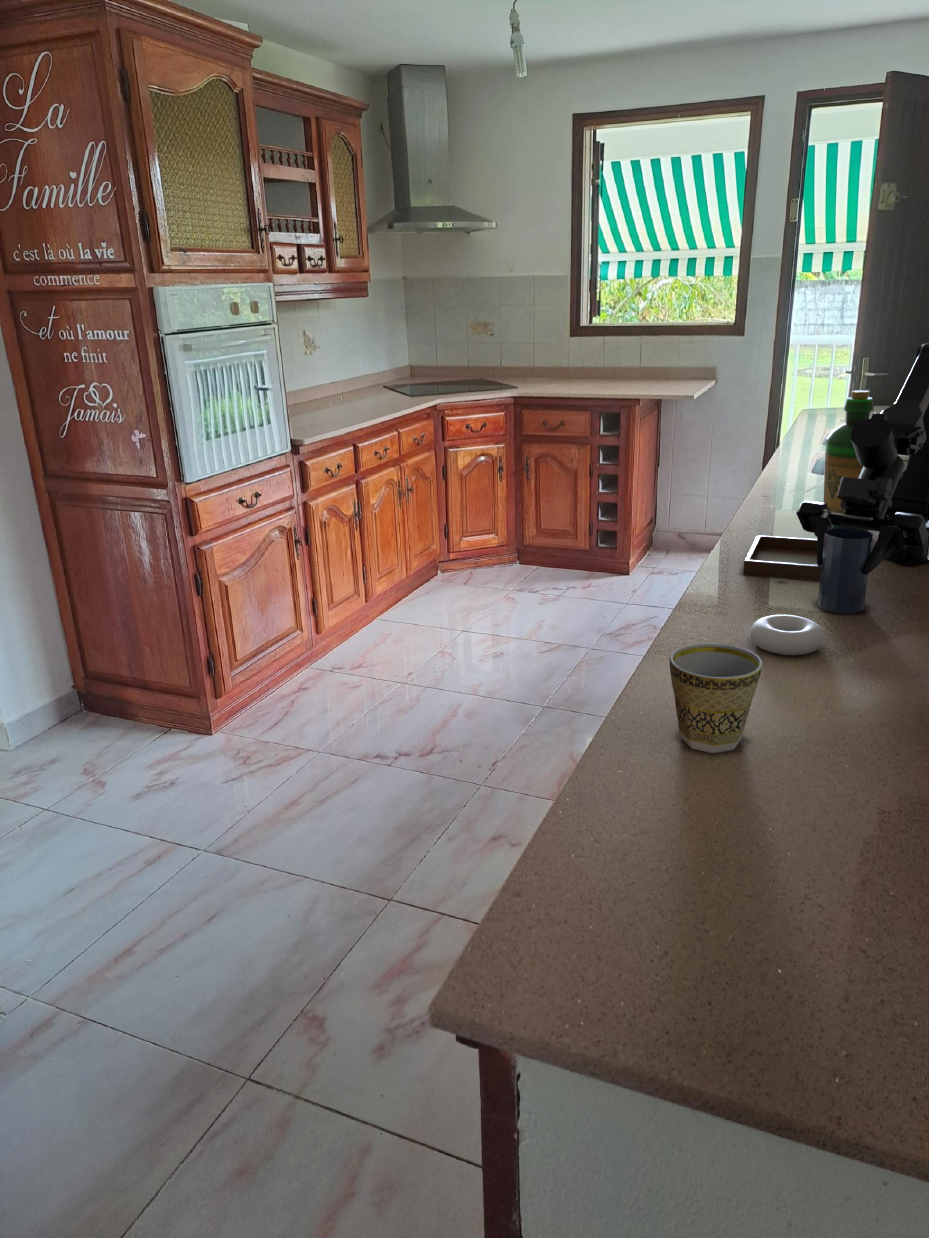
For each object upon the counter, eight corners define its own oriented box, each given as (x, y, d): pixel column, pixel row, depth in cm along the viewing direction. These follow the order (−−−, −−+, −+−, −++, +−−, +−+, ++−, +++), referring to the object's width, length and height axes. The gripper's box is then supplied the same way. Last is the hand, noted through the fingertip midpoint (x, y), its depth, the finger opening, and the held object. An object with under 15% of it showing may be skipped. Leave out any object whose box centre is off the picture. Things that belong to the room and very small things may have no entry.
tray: (756, 548, 172) (757, 535, 171) (830, 553, 166) (832, 540, 166) (743, 574, 157) (744, 560, 156) (824, 581, 152) (826, 567, 151)
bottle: (816, 536, 177) (830, 394, 167) (817, 523, 186) (831, 388, 177) (873, 540, 173) (892, 394, 164) (872, 526, 183) (889, 388, 173)
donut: (824, 663, 120) (822, 635, 129) (826, 639, 119) (824, 613, 128) (747, 656, 124) (750, 629, 132) (749, 633, 122) (752, 608, 131)
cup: (841, 597, 144) (850, 525, 140) (873, 609, 138) (883, 535, 134) (808, 603, 142) (815, 531, 138) (838, 616, 136) (847, 541, 132)
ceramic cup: (741, 768, 95) (748, 684, 92) (653, 747, 100) (656, 667, 97) (772, 719, 105) (779, 642, 102) (690, 703, 110) (694, 629, 107)
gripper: (806, 450, 140) (770, 533, 137) (932, 461, 128) (896, 552, 125) (821, 490, 148) (787, 568, 145) (941, 504, 136) (907, 590, 133)
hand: (841, 569), depth 137 cm, fingers closed on cup, 7 cm apart
